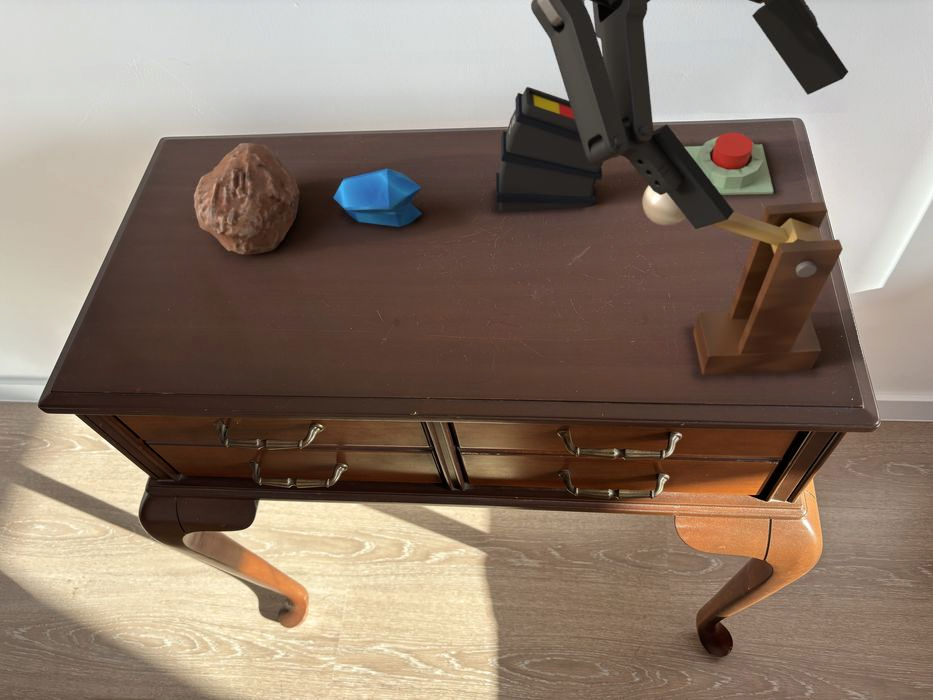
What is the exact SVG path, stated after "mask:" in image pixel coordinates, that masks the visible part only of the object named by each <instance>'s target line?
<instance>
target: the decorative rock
mask: <svg viewBox="0 0 933 700" xmlns="http://www.w3.org/2000/svg"><path fill="white" fill-rule="evenodd" d="M300 193H301V192H300V190H299V188H298V184H297V181H296V178H295V177H294V175H293V174H292V173H291V172H290V171H289V170H288V168H287V167H286V166H285V164H283V163H282V161H280V159H279V158H278V157H277V155H276V154H275V153H273V151H271V150H270V149H269V147H268V146H266V145H264V144H259V143H255V142H241V143H239V144H238V145H237V146H236V147H235V148H233V149H232V150H231V151H230V152H228V153H227V154H226V155H224V157H223V158H222V159H221V160H220V162H219V163H218V165H216V166H215V167H214V168H213V170H212V171H209V172H208V173H206V174H204V175H202V176H201V177H200V179H199V182H198V184H197V186H196V189H195V192H194V195H193V199H194V200H193V201H194V209H195V215H196V219H197V221H198V226H199V228H200V229H202V230H203V231H206V232H208V233H210V234H211V235H212V236H213V237H214V238H215V239H216V240H217V241H218V242H219V243H220V244H221V246H223V247H224V248H225V249H226V250H227V251H228V252H234V253H236V254H239V255H246V256H247V255H248V256H249V255H256V254H257V255H258V254H262V253H267V252H271V251H274V250H275V249H276V248H277V247H278V246H279V245H280V243H281V242H282V241H283V240H284V239H285V236H286V235H287V233H288V232H289V230H290V229H291V227H292V226H293V223H294V221H295V220H296V217H297V212H298V210H299V208H298V206H299V198H300V197H299V196H300Z"/></svg>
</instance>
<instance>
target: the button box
mask: <svg viewBox="0 0 933 700" xmlns="http://www.w3.org/2000/svg"><path fill="white" fill-rule="evenodd" d="M718 137H719V136H716V137H714V138H712V139H709V140H707V141H706V142H704V143H703V145H695V146H694V145H693V146H692V145H691V146H690V145H689V146H684V147H685V149H686V150H687V151H688V152H689V154H690V155H691V156H692V158H693V159H694V160H695V161H696V163H697V164H698V165H699V167H700V168H701V169H702V171H703V172H704V173H705V174H706V176H707V177H708V178H709V180H710V181H711V182H712V183H713V185H714V186H715V187H716V189H717V190H718V191H719V193H720V194H721V195H722V196H727V195H728V196H731V195H733V196H734V195H773V194H774V191H775V190H774V187H773V183H772V179H771V175H770V170H769V167H768V162H767V158H766V155H765V150H764V146H763V144H761V143H760V144H755V143H754V142H753V141H752V144H753V148H752V151H751V154H750V158H749V161H748V163H747V165H746V166H745V167H743V168H741V169H737V170H727V169H724V168H721V167H718V166H717V165H716V164H715V163H714V162H713V160H712V155H713V150H714V146H715V142H716V140H717V138H718Z"/></svg>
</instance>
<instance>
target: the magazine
mask: <svg viewBox="0 0 933 700" xmlns="http://www.w3.org/2000/svg"><path fill="white" fill-rule="evenodd" d="M514 100H515V102H514V103H515V109H514V112H513V113H512V115H511V117H510V120H509V124H508V126H507V129H506V130H507V131H505V130H504V131H502V132H501V136H500V159H499V169H498V170H499V172H496V173H495V193H496V194H495V198H496V199H495V200H496V201H495V202H496V203H499V204H498V205H499V211H500V212H512V211H513V212H515V211H529V210H530V211H531V210H548V209H564V208H582V207H584V208H585V207H592V206H593V204H596V203H597V193H596V183H597V180H600V181H601V180H602V178H603V170H602V169H603V168H602V167H603V164H604V162H602V163H600V164H598V165H594V164H591V163H590V162H589V161H588V159H587V157H586V154H585V151H584V148H583V145H582V141H581V138H580V135H579V132H578V128H577V125H576V122H575V118H574V115H573V112H572V109H571V105H570V102H569V99H565V98H563V97H558V96H556V95H553V94H550V93H547V92H544V91H542V90H539V89H535V88H532V87H530V86H526V88H525V89H524V91H523V93H521V92H517V94H516V96H515V99H514Z"/></svg>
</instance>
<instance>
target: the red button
mask: <svg viewBox="0 0 933 700" xmlns="http://www.w3.org/2000/svg"><path fill="white" fill-rule="evenodd" d="M717 137H718V138H717V140H716V142H715V146H714V150H713V155H712V160H713V162H714V163H715V164H716V165H717V166H718V167H721V168H724V169H727V170H737V169H741V168H743V167H745V166H746V165H747V163H748V161H749V158H750V154H751V151H752V148H753V144H752V142H753V141H752V139H750V137H748V136H746V135H745V134H743V133H739V132H727V133H723V134H721V135H719V136H717Z"/></svg>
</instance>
